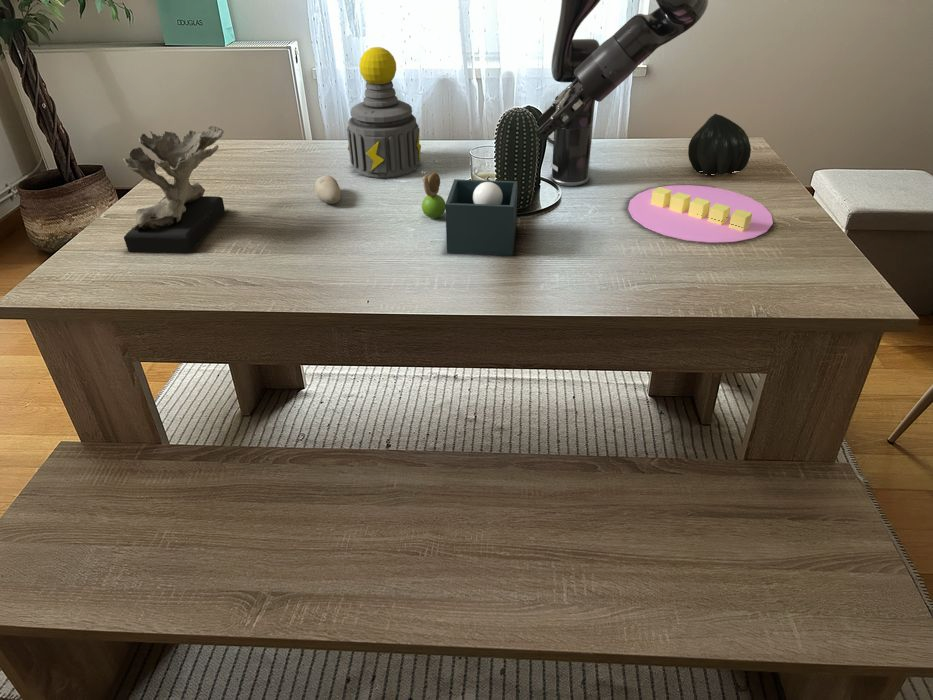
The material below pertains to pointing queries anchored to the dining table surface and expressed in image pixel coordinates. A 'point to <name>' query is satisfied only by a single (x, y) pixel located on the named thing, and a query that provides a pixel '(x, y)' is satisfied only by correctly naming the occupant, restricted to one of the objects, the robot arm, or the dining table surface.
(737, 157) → the squash
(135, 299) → the dining table surface
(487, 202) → the lightbulb
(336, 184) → the stone
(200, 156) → the coral
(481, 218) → the trash bin
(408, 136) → the decorative lamp
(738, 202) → the platter
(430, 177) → the green ball figurine
